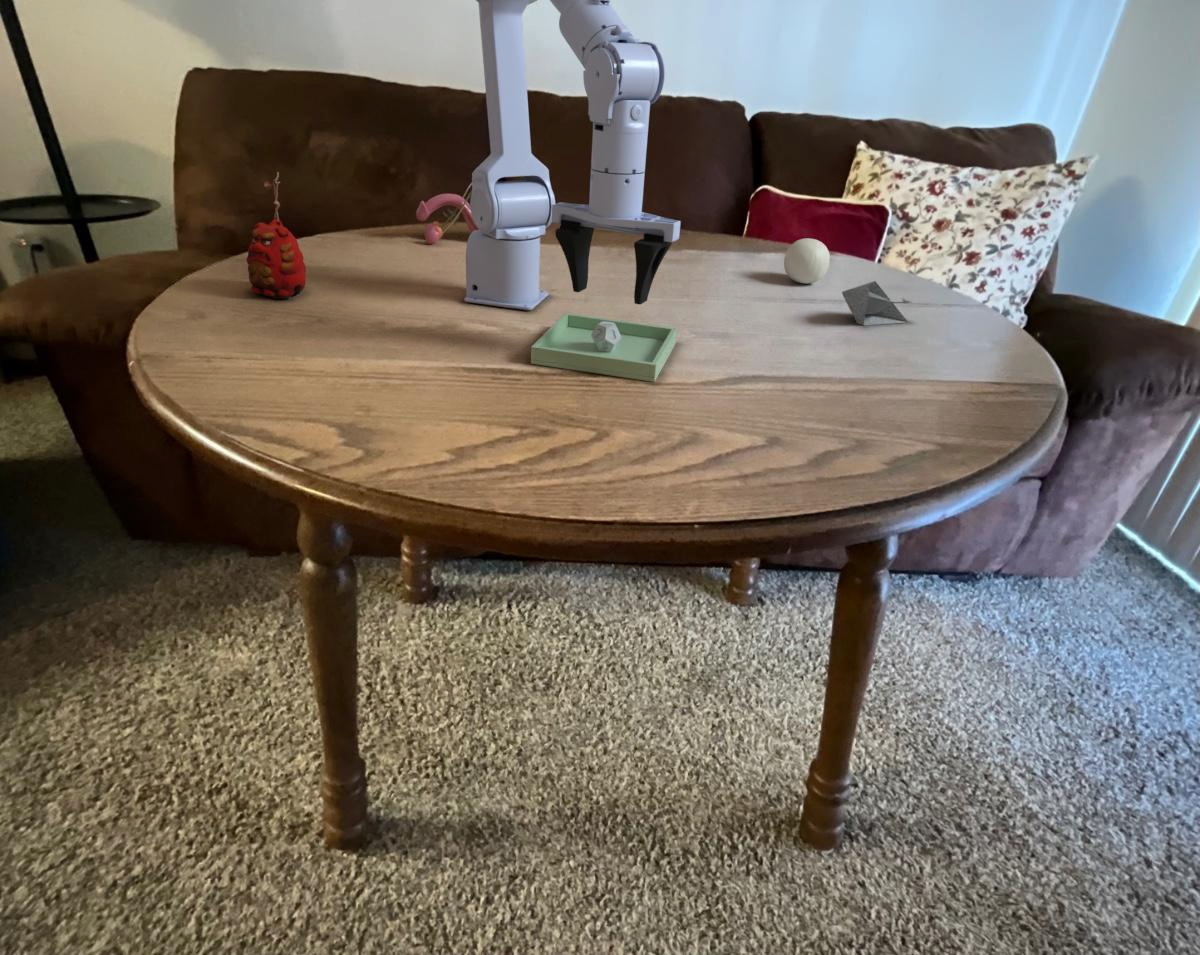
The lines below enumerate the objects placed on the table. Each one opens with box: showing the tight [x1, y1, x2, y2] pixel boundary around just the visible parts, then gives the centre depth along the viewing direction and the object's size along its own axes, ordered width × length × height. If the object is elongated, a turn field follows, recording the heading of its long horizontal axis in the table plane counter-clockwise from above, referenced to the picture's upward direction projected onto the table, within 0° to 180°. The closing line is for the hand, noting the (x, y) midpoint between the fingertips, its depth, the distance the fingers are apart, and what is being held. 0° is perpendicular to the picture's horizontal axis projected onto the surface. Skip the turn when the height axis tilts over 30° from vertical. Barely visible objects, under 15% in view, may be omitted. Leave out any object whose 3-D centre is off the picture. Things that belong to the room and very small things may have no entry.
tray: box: [530, 312, 678, 383], centre depth 99 cm, size 14×13×2 cm
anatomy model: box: [415, 180, 498, 245], centre depth 141 cm, size 10×14×15 cm
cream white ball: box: [783, 237, 831, 285], centre depth 130 cm, size 7×7×7 cm
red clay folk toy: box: [245, 171, 307, 300], centre depth 109 cm, size 8×7×15 cm
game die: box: [591, 321, 622, 352], centre depth 98 cm, size 4×4×3 cm
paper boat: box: [841, 280, 913, 326], centre depth 113 cm, size 12×6×9 cm
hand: (609, 295), depth 96 cm, fingers open, 7 cm apart
